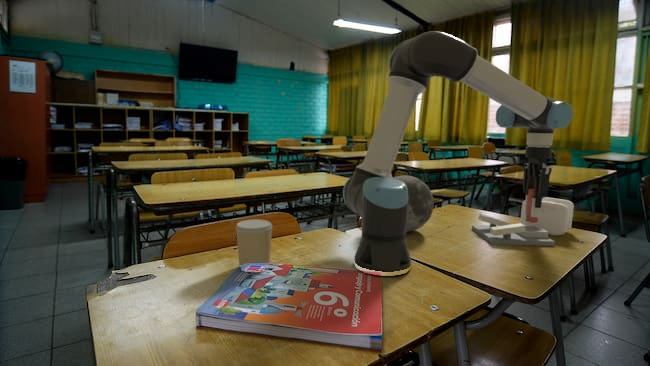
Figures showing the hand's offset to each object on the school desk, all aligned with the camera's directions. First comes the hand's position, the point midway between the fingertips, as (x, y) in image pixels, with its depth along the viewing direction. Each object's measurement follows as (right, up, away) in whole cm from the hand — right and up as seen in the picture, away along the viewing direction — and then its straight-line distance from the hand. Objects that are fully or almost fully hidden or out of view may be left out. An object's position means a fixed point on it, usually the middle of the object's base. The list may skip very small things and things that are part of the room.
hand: (532, 215), depth 129 cm
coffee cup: (-89, -12, -29) cm, 94 cm away
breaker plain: (-10, -3, +7) cm, 12 cm away
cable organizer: (+11, -7, +11) cm, 17 cm away
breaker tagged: (-10, -5, -4) cm, 12 cm away
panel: (-6, -8, +2) cm, 10 cm away
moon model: (-42, -6, +8) cm, 43 cm away
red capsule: (0, -2, 0) cm, 2 cm away
